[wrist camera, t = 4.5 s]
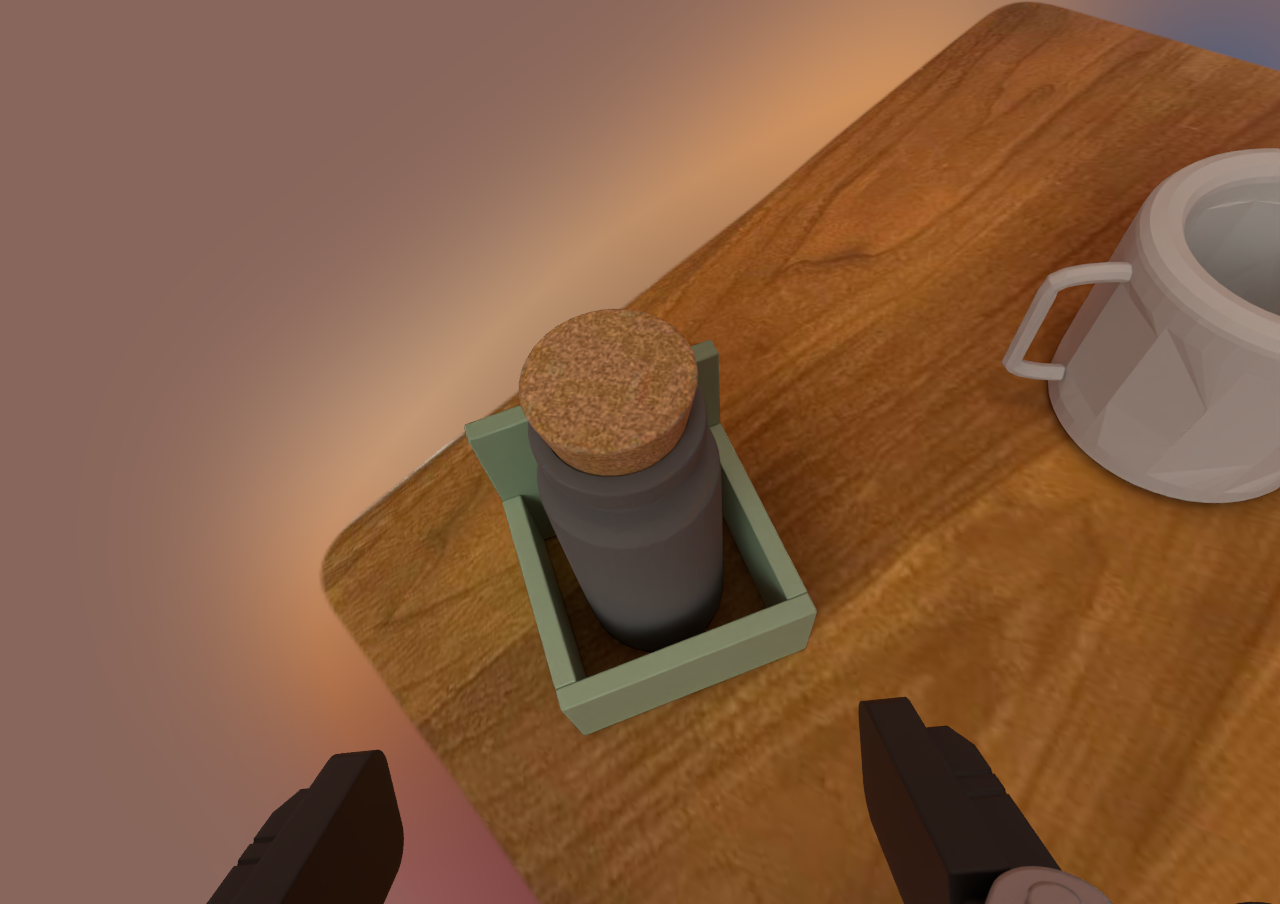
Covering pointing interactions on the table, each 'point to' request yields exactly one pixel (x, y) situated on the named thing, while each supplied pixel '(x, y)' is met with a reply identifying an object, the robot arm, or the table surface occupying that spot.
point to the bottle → (628, 472)
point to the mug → (1178, 338)
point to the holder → (681, 663)
